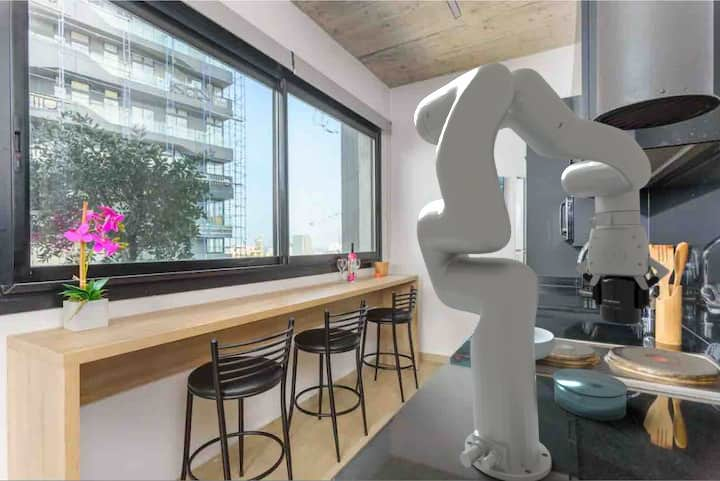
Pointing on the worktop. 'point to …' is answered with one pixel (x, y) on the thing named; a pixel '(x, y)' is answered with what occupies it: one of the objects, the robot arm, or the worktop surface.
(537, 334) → the cereal bowl
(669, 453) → the worktop surface
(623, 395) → the biscuit tin
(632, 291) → the supplement bottle
